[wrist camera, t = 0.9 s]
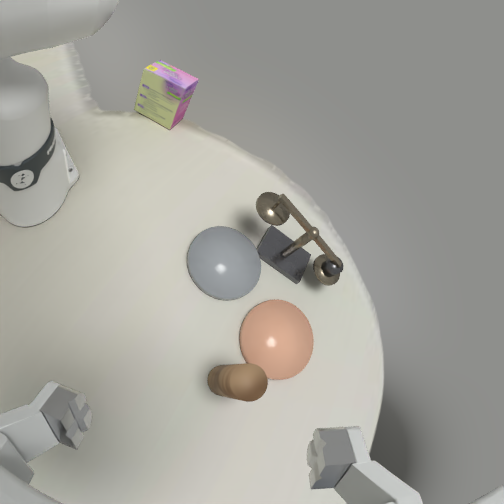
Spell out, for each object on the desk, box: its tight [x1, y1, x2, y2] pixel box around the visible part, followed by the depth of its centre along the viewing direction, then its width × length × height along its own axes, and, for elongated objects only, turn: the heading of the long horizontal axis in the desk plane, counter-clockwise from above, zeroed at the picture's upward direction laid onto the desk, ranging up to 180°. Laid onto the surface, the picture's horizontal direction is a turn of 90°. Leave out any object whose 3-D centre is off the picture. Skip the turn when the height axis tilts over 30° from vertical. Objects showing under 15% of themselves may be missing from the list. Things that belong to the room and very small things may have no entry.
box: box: [134, 60, 199, 130], centre depth 51 cm, size 10×6×12 cm, turn 67°
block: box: [208, 363, 268, 401], centre depth 37 cm, size 5×5×10 cm
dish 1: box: [187, 226, 261, 300], centre depth 49 cm, size 13×13×1 cm
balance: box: [256, 192, 343, 286], centre depth 50 cm, size 21×7×13 cm, turn 62°
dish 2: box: [239, 300, 313, 379], centre depth 48 cm, size 14×14×1 cm
